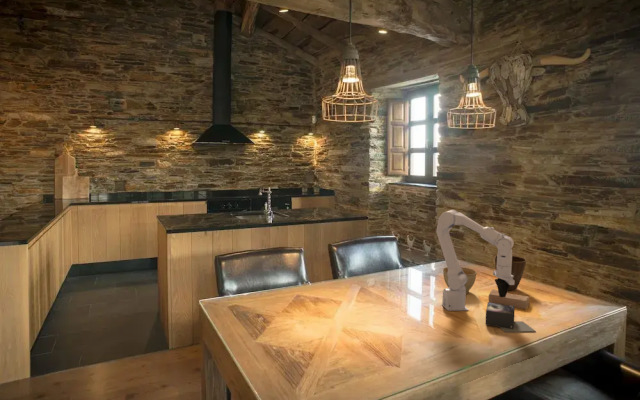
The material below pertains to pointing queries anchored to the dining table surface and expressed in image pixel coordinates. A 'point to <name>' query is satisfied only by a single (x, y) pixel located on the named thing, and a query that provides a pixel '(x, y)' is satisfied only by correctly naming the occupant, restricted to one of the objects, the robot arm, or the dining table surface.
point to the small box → (500, 315)
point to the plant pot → (515, 270)
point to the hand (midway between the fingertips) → (502, 296)
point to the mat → (519, 327)
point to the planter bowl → (469, 273)
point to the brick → (509, 299)
